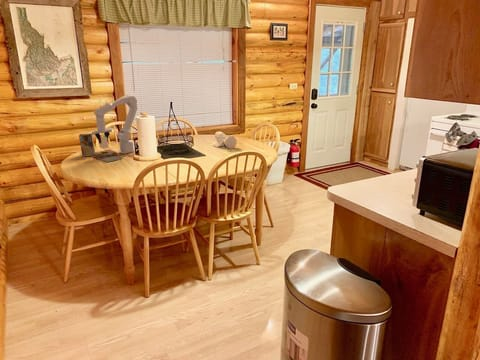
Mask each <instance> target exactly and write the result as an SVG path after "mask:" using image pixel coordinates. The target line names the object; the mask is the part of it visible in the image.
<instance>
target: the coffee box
mask: <svg viewBox="0 0 480 360" xmlns="http://www.w3.org/2000/svg"><path fill="white" fill-rule="evenodd" d="M93 137H94V135H92V132H91V133H80V134H78V140H79V145H80V149H81V156H82V157H94V156H93V153H94V152H96V149H95V143H94V138H93Z"/></svg>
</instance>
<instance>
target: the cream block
mask: <svg viewBox="0 0 480 360" xmlns="http://www.w3.org/2000/svg"><path fill="white" fill-rule="evenodd" d="M99 148H101V149H108V148H109V141H108V142H107V137H106V136H105V135H103V136H102V135H101V144H100V143H99Z"/></svg>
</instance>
